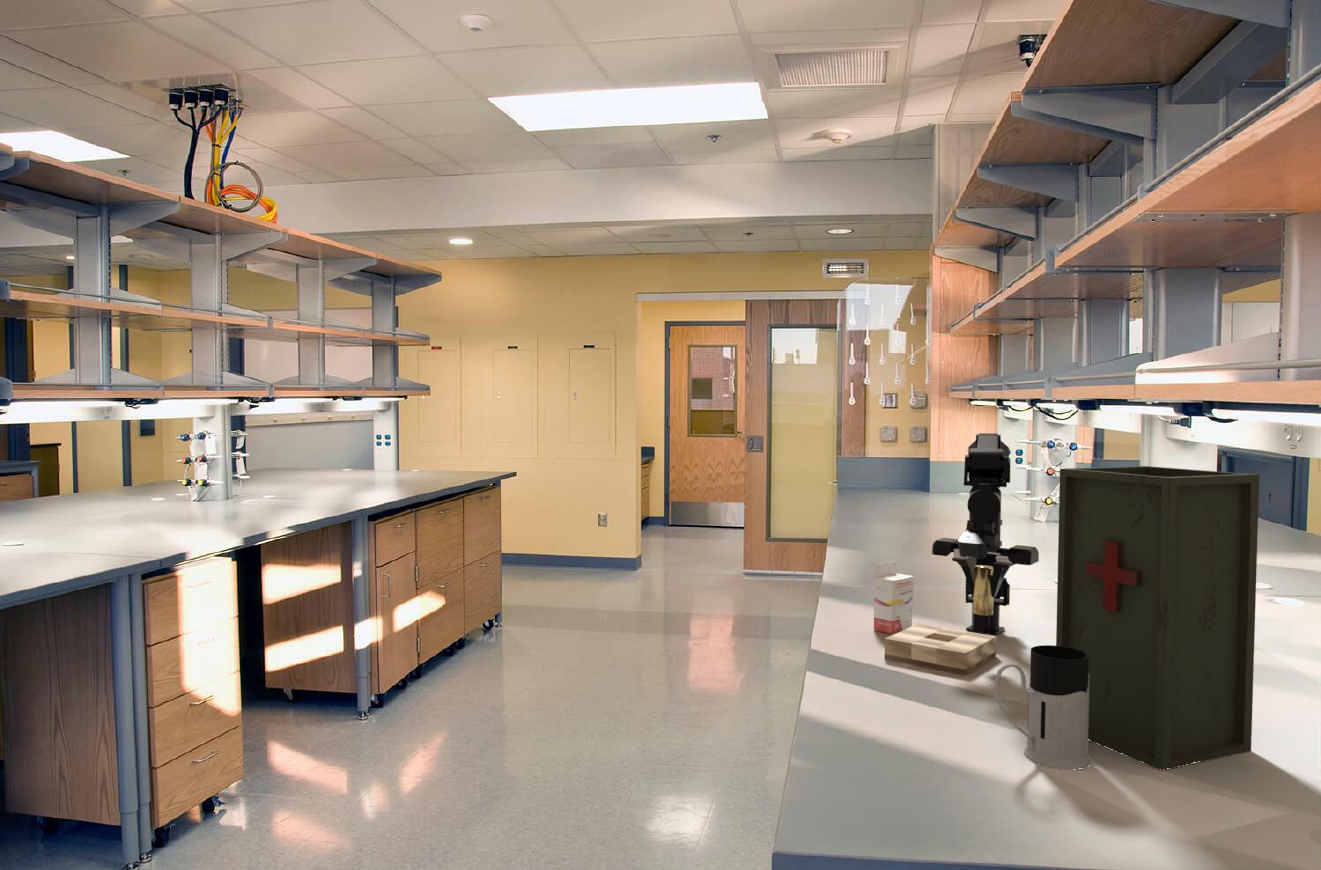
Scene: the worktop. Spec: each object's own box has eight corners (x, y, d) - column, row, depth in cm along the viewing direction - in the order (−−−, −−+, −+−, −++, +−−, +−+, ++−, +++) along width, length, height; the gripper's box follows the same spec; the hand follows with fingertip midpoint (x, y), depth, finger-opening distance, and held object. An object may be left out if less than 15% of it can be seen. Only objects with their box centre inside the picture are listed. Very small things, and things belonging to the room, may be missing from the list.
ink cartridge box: (892, 634, 196) (894, 566, 195) (872, 630, 199) (873, 563, 199) (913, 627, 202) (914, 562, 201) (893, 623, 205) (894, 559, 205)
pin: (977, 610, 177) (977, 564, 177) (995, 613, 175) (996, 566, 175) (970, 613, 174) (971, 567, 174) (989, 616, 172) (990, 569, 172)
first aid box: (1054, 726, 141) (1059, 468, 139) (1138, 710, 148) (1144, 465, 146) (1161, 770, 124) (1169, 478, 122) (1251, 751, 131) (1259, 474, 129)
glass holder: (1105, 767, 125) (1108, 659, 124) (1012, 775, 122) (1015, 664, 121) (1064, 743, 133) (1066, 642, 133) (977, 750, 130) (978, 647, 130)
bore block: (918, 642, 189) (919, 623, 189) (995, 656, 179) (996, 636, 179) (884, 658, 177) (884, 638, 177) (965, 674, 167) (965, 653, 167)
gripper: (921, 514, 174) (920, 595, 174) (1022, 523, 162) (1020, 610, 163) (943, 509, 182) (941, 586, 183) (1040, 517, 171) (1038, 599, 171)
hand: (983, 595), depth 175 cm, fingers closed on pin, 4 cm apart
